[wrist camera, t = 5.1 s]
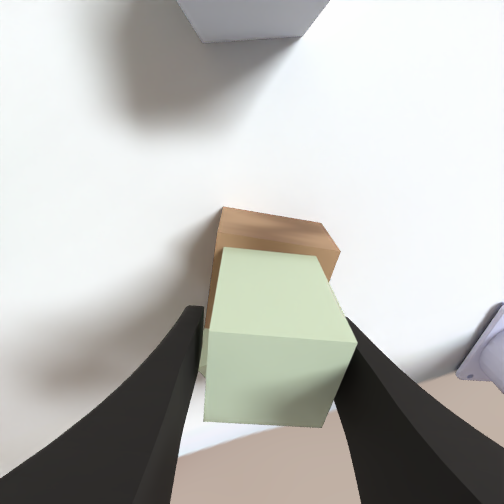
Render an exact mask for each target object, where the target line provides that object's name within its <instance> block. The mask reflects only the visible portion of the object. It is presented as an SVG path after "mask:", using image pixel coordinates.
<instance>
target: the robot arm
mask: <svg viewBox="0 0 504 504" xmlns="http://www.w3.org/2000/svg"><path fill="white" fill-rule="evenodd" d="M203 318H204V307H203V306H187V307H186V308H185V310H184V311H183V313H182V315H181V316H180V318H179V319H178V321H177V322H176V323H175V325H174V326H173V327H172V329H171V330H170V331H169V333H168V334H167V335H166V336H165V338H164V339H163V340H162V342H161V343H160V344H159V345H158V346H157V348H156V349H155V350H154V351H153V352H152V353H151V354H150V355H149V357H148V358H147V359H146V360H145V361H144V362H143V363H142V364H141V365H140V366H139V368H138V369H137V370H136V371H135V372H134V373H133V374H132V375H131V376H130V377H129V378H128V379H127V380H126V381H125V382H123V383H122V384H121V385H120V386H119V387H118V388H117V389H116V390H115V391H114V392H113V393H112V394H110V395H109V396H108V397H107V398H106V399H105V400H104V401H103V402H102V403H100V404H99V405H98V406H97V407H96V408H95V409H93V410H92V411H91V412H90V413H89V414H87V415H86V416H85V417H83V418H82V419H81V420H80V421H78V422H77V423H76V424H75V425H73V426H72V427H71V428H69V429H68V430H67V431H66V432H64V433H63V434H62V435H61V436H59V437H58V438H57V439H55V440H54V441H53V442H51V443H50V444H49V445H47V446H46V447H45V448H43V449H42V450H40V451H39V452H37V453H36V454H35V455H33V456H32V457H30V458H29V459H27V460H26V461H25V462H23V463H22V464H20V465H19V466H18V467H16V468H15V469H13V470H12V471H10V472H9V473H8V474H6V475H5V476H3V477H2V478H0V504H170V499H171V493H172V487H173V482H174V476H175V470H176V464H177V458H178V453H179V447H180V441H181V436H182V432H183V427H184V423H185V419H186V416H187V412H188V408H189V404H190V400H191V396H192V393H193V389H194V385H195V381H196V377H197V373H198V369H199V364H200V358H201V351H202V344H203ZM346 319H347V322H348V324H349V326H350V328H351V330H352V332H353V334H354V336H355V338H356V340H357V342H358V343H357V346H356V348H355V351H354V353H353V355H352V358H351V360H350V362H349V365H348V367H347V369H346V372H345V374H344V377H343V379H342V381H341V384H340V386H339V388H338V391H337V393H336V396H335V398H334V402H335V405H336V408H337V411H338V414H339V417H340V420H341V423H342V426H343V429H344V432H345V435H346V439H347V442H348V446H349V450H350V454H351V459H352V463H353V467H354V472H355V476H356V480H357V485H358V490H359V495H360V499H361V504H504V448H503V447H502V446H500V445H499V444H497V443H496V442H494V441H493V440H491V439H490V438H488V437H486V436H485V435H484V434H482V433H481V432H479V431H478V430H476V429H475V428H474V427H472V426H471V425H469V424H468V423H467V422H465V421H464V420H462V419H461V418H460V417H458V416H457V415H455V414H454V413H453V412H451V411H450V410H449V409H447V408H446V407H445V406H443V405H442V404H441V403H440V402H438V401H437V400H436V399H434V398H433V397H432V396H431V395H430V394H428V393H427V392H426V391H425V390H423V389H422V388H421V387H420V386H419V385H417V384H416V383H415V382H414V381H413V380H412V379H411V378H409V377H408V376H407V375H406V374H405V373H404V372H403V371H402V370H400V369H399V368H398V367H397V366H396V365H395V364H394V363H393V362H392V361H391V360H390V359H389V358H388V357H387V356H386V355H385V354H384V353H383V352H381V351H380V350H379V349H378V348H377V347H376V346H375V345H374V344H373V343H372V342H371V341H370V340H369V339H368V337H367V336H366V335H365V334H364V333H363V332H362V331H361V330H360V329H359V328H358V327H357V326H356V325H355V324H354V323H353V322H352V321H351V320H350V319H349V318H348V317H346ZM456 376H457V377H458V378H459V379H461V380H476V381H492V382H493V383H494V384H495V385H496V386H497V387H498V388H499V389H500V391H501V392H502V393H503V394H504V305H503V306H502V307H501V308H500V309H499V311H498V312H497V314H496V315H495V317H494V318H493V319H492V321H491V322H490V324H489V325H488V327H487V328H486V330H485V331H484V332H483V334H482V335H481V337H480V338H479V340H478V341H477V343H476V344H475V345H474V347H473V348H472V350H471V351H470V353H469V354H468V355H467V357H466V358H465V360H464V361H463V363H462V364H461V366H460V367H459V368H458V370H457V371H456Z"/></svg>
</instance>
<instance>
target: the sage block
mask: <svg viewBox="0 0 504 504" xmlns="http://www.w3.org/2000/svg"><path fill="white" fill-rule="evenodd" d="M357 343H358V342H357V340H356V338H355V336H354V334H353V332H352V330H351V328H350V326H349V324H348V322H347V319H346V317H345V315H344V313H343V311H342V309H341V307H340V305H339V303H338V301H337V299H336V297H335V295H334V292H333V290H332V288H331V286H330V284H329V282H328V280H327V278H326V276H325V274H324V272H323V270H322V267H321V265H320V263H319V261H318V259H317V257H316V256H310V255H300V254H290V253H280V252H270V251H260V250H251V249H241V248H231V247H224V248H223V254H222V260H221V265H220V271H219V277H218V282H217V288H216V294H215V300H214V305H213V311H212V317H211V323H210V328H209V339H208V355H207V371H206V387H205V403H204V419H203V422H222V423H240V424H258V425H277V426H295V427H315V428H322V426H323V424H324V422H325V419H326V416H327V414H328V412H329V410H330V407H331V405H332V403H333V400H334V398H335V396H336V393H337V391H338V388H339V386H340V384H341V381H342V379H343V377H344V374H345V372H346V369H347V367H348V365H349V362H350V360H351V358H352V355H353V353H354V351H355V348H356V346H357Z"/></svg>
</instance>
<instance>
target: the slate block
mask: <svg viewBox="0 0 504 504" xmlns="http://www.w3.org/2000/svg"><path fill="white" fill-rule="evenodd" d="M176 1H177V3H178V4H179V6H180V7H181V9H182V11H183V12H184V14H185V16H186V17H187V19H188V20H189V22H190V24H191V25H192V27H193V29H194V30H195V32H196V33H197V35H198V37H199V38H200V40H201V41H202V43H215V42H229V41H243V40H257V39H271V38H285V37H300V36H303V35H304V34H305V32H306V31H307V30H308V28H309V27H310V26H311V24H312V23H313V22H314V21H315V19H316V18H317V17H318V15H319V14H320V13H321V11H322V10H323V9H324V7H325V6H326V5H327V4H328V2H329V1H330V0H176Z"/></svg>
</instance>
